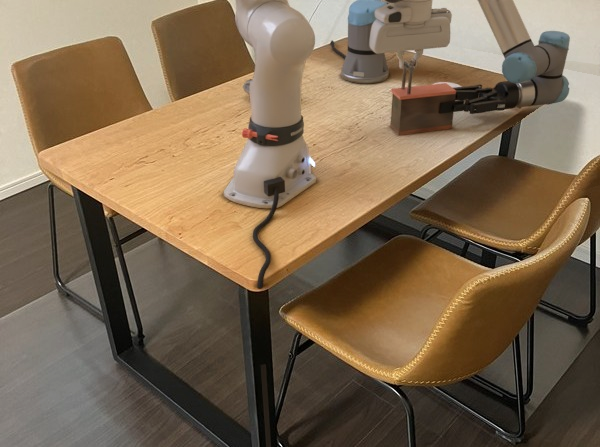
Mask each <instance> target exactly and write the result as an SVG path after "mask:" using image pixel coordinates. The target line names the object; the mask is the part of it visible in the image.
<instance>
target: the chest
mask: <svg viewBox="0 0 600 447" xmlns="http://www.w3.org/2000/svg"><path fill="white" fill-rule="evenodd" d="M391 94H392V95H391V112H390V125H389V127H390V128H391V129H392V130H393V131H394V132H395V133H396V134H397V135H398V136H403V135H411V134H419V133H420V134H421V133H426V132H427V133H428V132H433V131H434V132H435V131H440V130H441V131H442V130H447V129H448V130H449V129H452V128H453V119H454V112H450V113H442V114H440V113H439V107H440V103H443V102H452V101H455V96H456V94H449V95H440V96H431V97H422V98H412V99H403V100H400V99H399V98H397V97H396V96H395V95H394V94H393V93H391Z"/></svg>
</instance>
